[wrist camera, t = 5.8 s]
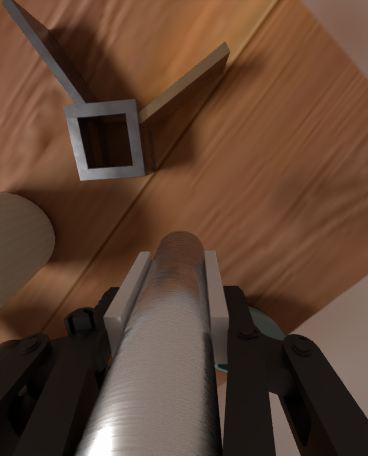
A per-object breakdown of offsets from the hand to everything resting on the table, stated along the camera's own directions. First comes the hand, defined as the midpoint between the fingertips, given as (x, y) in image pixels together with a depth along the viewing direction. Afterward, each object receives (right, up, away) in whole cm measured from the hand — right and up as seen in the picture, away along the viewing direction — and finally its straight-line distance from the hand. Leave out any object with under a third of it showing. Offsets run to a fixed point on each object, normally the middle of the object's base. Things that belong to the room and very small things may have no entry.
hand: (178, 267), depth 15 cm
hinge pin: (0, +1, +2) cm, 3 cm away
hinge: (-6, +20, +13) cm, 24 cm away
